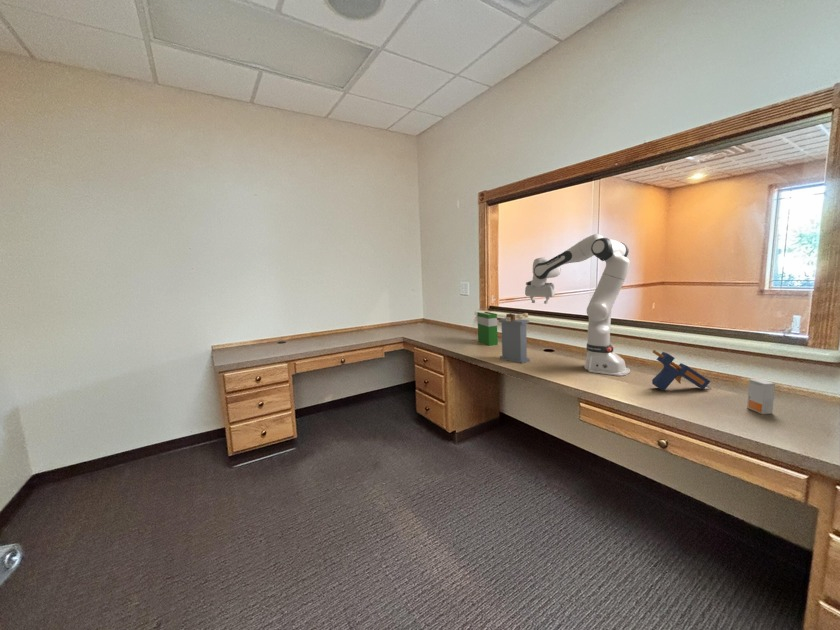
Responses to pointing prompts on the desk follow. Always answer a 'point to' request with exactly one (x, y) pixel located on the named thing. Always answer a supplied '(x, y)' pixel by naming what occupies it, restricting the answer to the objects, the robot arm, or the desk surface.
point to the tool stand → (514, 340)
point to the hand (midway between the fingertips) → (539, 303)
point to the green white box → (487, 328)
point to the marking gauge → (515, 316)
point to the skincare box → (761, 396)
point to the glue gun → (676, 373)
